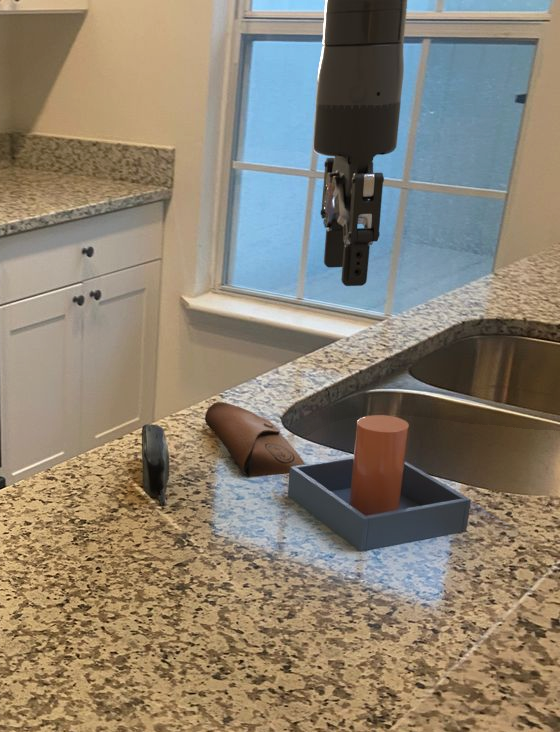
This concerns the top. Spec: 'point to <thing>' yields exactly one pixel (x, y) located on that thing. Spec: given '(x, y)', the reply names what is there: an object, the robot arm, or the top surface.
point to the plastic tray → (408, 524)
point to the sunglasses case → (252, 440)
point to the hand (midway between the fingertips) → (343, 275)
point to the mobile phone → (155, 462)
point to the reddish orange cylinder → (378, 464)
